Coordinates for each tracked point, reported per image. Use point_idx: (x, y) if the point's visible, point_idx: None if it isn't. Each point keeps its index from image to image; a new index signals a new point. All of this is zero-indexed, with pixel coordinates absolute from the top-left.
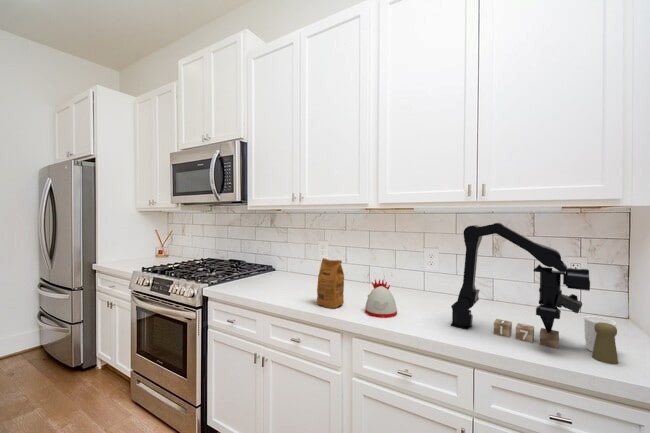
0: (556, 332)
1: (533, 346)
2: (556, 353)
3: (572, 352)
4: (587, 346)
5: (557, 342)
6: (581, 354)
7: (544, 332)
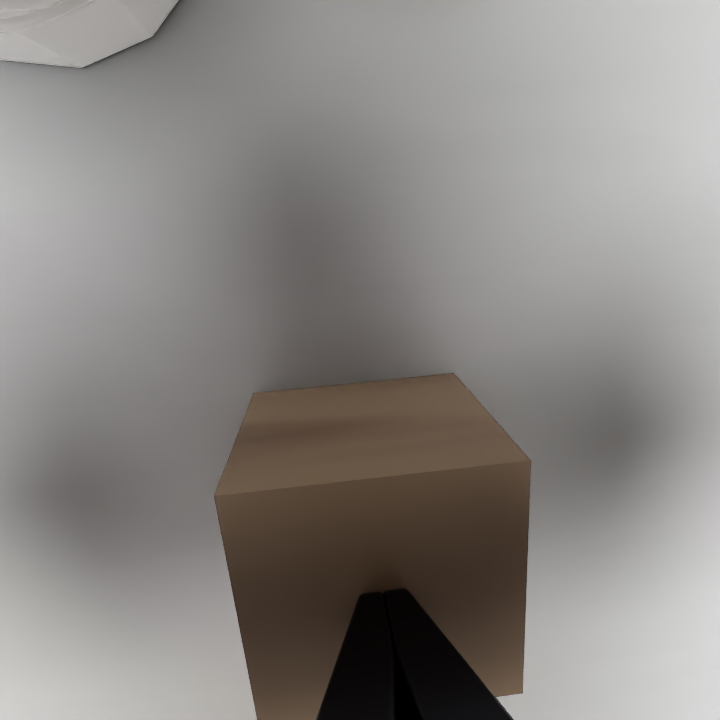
0: (338, 516)
1: (549, 571)
2: (612, 366)
3: (446, 220)
4: (137, 19)
5: (485, 414)
6: (440, 111)
7: (500, 646)
